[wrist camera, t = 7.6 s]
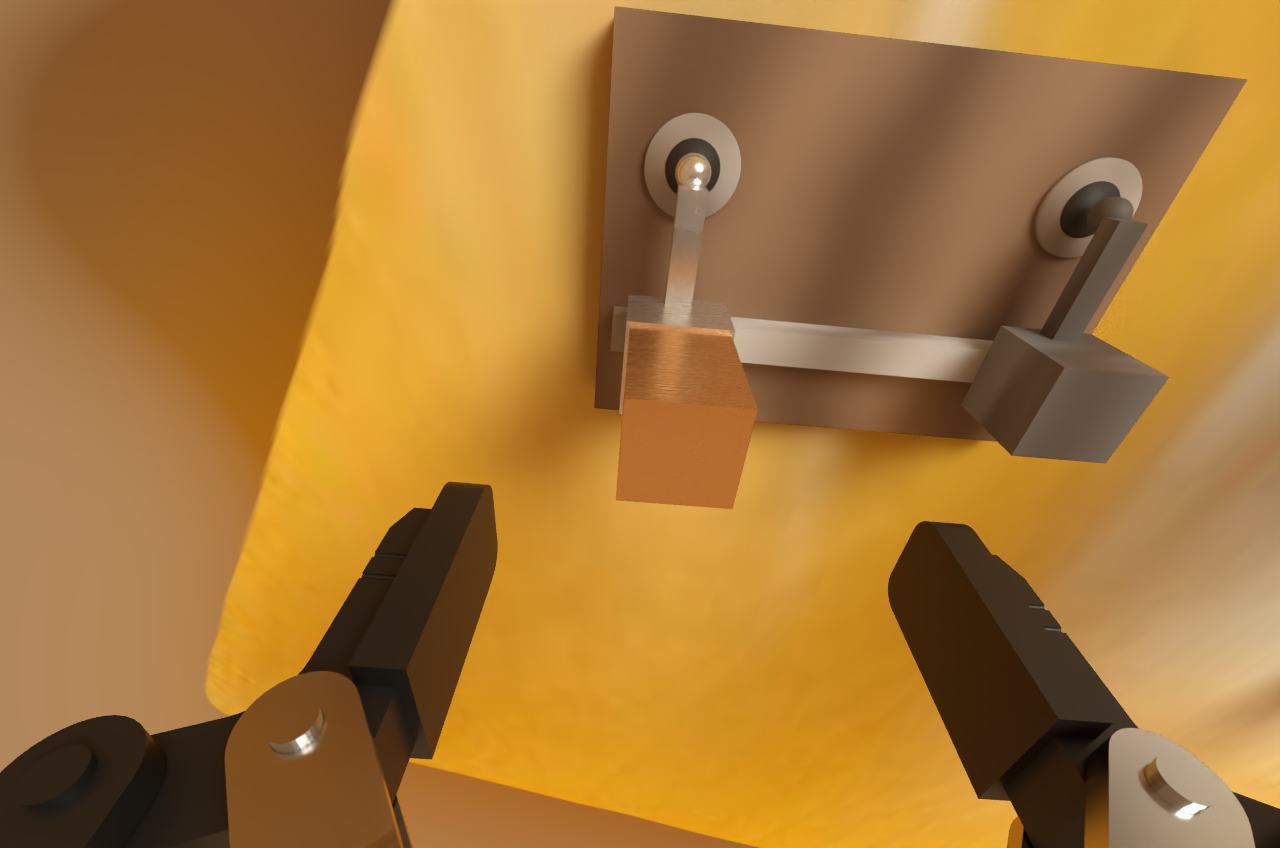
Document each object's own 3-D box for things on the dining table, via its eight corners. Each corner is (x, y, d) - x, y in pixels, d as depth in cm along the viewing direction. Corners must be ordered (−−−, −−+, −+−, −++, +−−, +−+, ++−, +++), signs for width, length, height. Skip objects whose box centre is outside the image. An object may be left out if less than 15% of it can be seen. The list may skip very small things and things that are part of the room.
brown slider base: (1197, 80, 15) (1441, 75, 10) (1002, 423, 22) (1099, 513, 17) (617, 13, 14) (604, -24, 10) (597, 389, 21) (583, 473, 16)
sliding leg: (747, 156, 14) (816, 201, 9) (706, 376, 18) (735, 512, 12) (641, 145, 14) (637, 183, 8) (622, 369, 18) (611, 503, 12)
